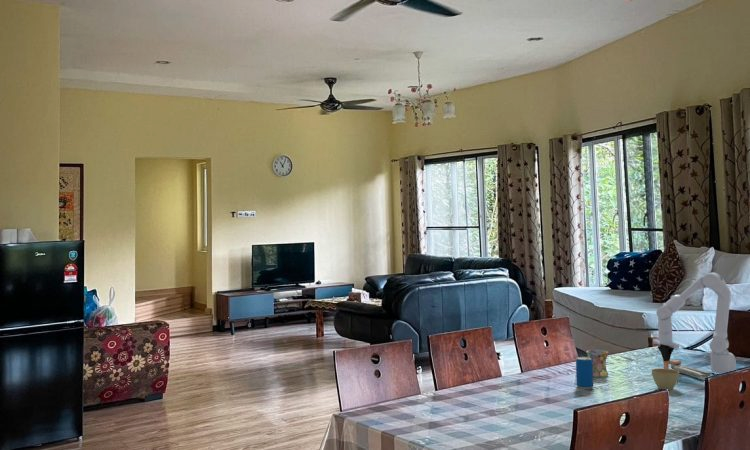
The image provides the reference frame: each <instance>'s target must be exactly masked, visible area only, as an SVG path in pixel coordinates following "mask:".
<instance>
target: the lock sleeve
mask: <svg viewBox="0 0 750 450" xmlns="http://www.w3.org/2000/svg"><path fill="white" fill-rule="evenodd" d="M662 361H663V360H662ZM681 363H682V361H681V360H679V359H678V360H677V359H676V360H675V359H674V360H670V361H663V369H670V368H669V365H671V364H679V365H682V364H681Z"/></svg>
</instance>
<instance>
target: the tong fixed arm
mask: <svg viewBox="0 0 750 450" xmlns="http://www.w3.org/2000/svg"><path fill="white" fill-rule="evenodd" d="M677 367H683V368H687V369H690V370H693V371H697V372H700V373H703V374H706V377H708V376H710V377H711V373H710V372H706V371H707V370H706V371H705V370H701V369H697V368H694V367H690V366H686V365H682V364H681V365H679V364H670V369H671V368H672V369H674V370H676V371H677Z"/></svg>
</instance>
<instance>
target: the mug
mask: <svg viewBox="0 0 750 450" xmlns="http://www.w3.org/2000/svg"><path fill="white" fill-rule="evenodd" d="M585 353H586V355H587V356H586V357H589V358H591V360H592V362H593V378H595V377H596V378H604V377H607V376H609V373H608V369H607V359H608V358H607V357H608V355H609V351H607V350H601V349H589V350H586V352H585Z"/></svg>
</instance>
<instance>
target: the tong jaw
mask: <svg viewBox="0 0 750 450" xmlns="http://www.w3.org/2000/svg"><path fill="white" fill-rule="evenodd" d="M677 371H678V372H679V374H683V375H687V376H689V375H690V376H689V377H692V378H696V377H697V378H698V380H700V379H702V380H706V379H705V378H706V374H703V373H700V372H697V371H693V370H690V369H687V368H683V367H677ZM697 378H696V379H697Z"/></svg>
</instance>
